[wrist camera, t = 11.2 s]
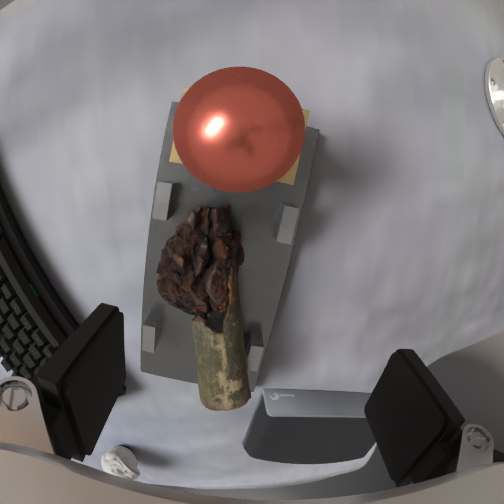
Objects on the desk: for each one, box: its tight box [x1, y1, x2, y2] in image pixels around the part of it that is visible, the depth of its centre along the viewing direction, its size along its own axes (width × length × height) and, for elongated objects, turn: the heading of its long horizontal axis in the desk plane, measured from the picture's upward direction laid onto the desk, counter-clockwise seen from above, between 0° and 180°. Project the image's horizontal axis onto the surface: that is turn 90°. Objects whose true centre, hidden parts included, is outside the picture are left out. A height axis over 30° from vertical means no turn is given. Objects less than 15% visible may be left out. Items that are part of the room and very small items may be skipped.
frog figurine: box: [101, 446, 140, 480], centre depth 33 cm, size 6×7×7 cm
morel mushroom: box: [156, 203, 251, 411], centre depth 24 cm, size 18×7×6 cm, turn 2°
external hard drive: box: [242, 389, 376, 464], centre depth 34 cm, size 13×19×4 cm
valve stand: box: [141, 67, 320, 392], centre depth 23 cm, size 13×29×11 cm, turn 168°
